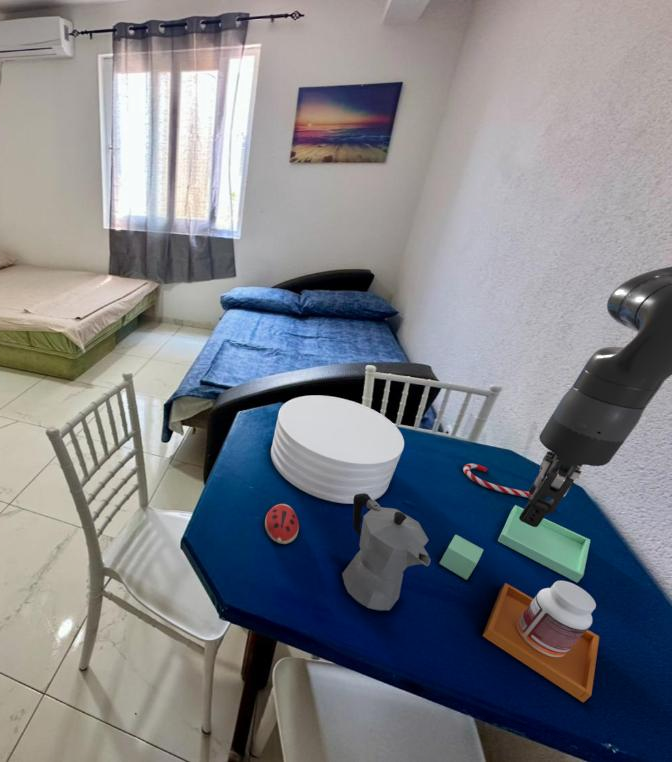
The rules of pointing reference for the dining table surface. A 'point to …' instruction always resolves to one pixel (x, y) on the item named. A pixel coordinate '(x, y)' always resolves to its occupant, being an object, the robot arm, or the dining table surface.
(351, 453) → the plate stack
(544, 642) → the pill bottle
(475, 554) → the mint block
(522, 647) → the amber tray
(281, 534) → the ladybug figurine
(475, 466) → the candy cane
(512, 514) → the mint tray
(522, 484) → the dining table surface
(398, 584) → the coffeepot
